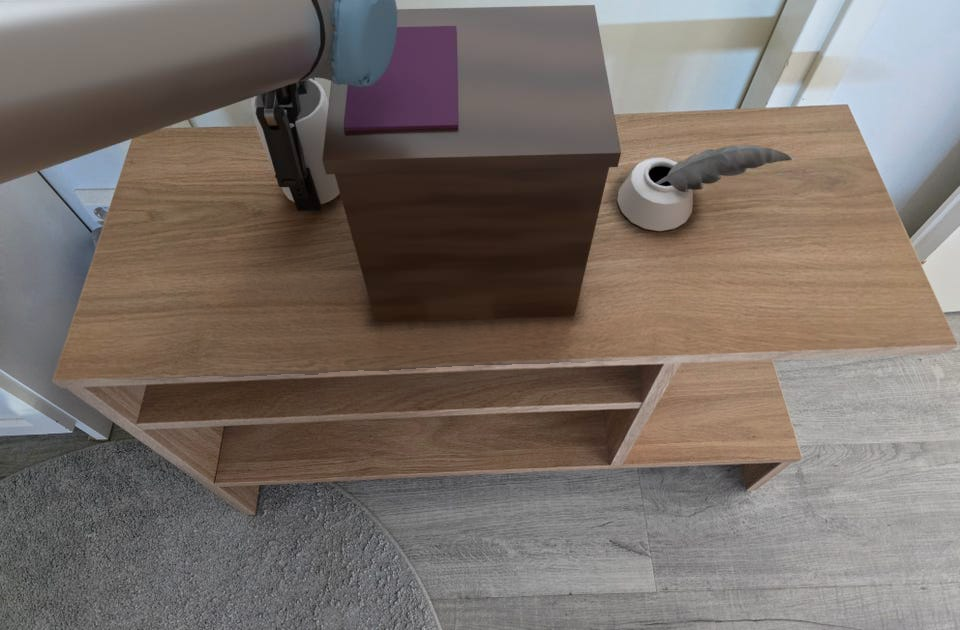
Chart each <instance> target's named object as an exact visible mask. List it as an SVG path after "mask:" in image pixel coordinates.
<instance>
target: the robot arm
mask: <svg viewBox="0 0 960 630" xmlns="http://www.w3.org/2000/svg"><path fill="white" fill-rule="evenodd" d="M397 9H398V6H397V2H396V0H0V185H3V184H6V183H8V182H12V181H14V180H17V179H20V178H23V177H26V176H29V175H32V174H35V173H37V172H40V171H43V170H46V169H49V168H52V167H55V166H57V165H60V164H64V163H67V162H69V161H72V160H75V159H78V158H81V157H83V156H87V155H90V154H92V153H95V152H99V151H101V150H104V149H106V148H107V149H108V148H109V147H112V146H116V145H120V144H121V143H124V142H127V141H130V140H132V139H136V138H139V137H141V136H144V135H147V134H151V133H153V132H156V131H159V130H162V129H164V128H168V127H171V126H174V125H176V124H177V125H178V124H180V123H182V122H185V121H189V120H191V119H194V118H196V117H199V116H202V115H205V114H208V113H212V112H214V111H217V110H220V109H222V108H225V107H228V106H231V105H235V104H237V103H240V102H243V101H246V100H249V99H252V98H253V97H255V96H258V95H262V100H263V105H264V107H257V108H256V116H257V119H258V121H259V123H260V125H261V127H262V129H263V132H264V136H265V139H266V143H267V146H268V150H269V153H270V157H271V160H272V164H273V167H274V171H275V174H276V175H275V174H274V177H275V179H276V181H277V184H278V187H279V188H281V187H289V189H290V191H291V194H292V197H293V199H294V202H295V203H294V202H293V203H294V205H295V207H296V210H297V212H309V211H311V212H312V211H315V212H316V211H317V212H318V211H321V210H322V204H321V203H320V200H319V197H318V194H317V191H316V188H315V185H314V182H313V178H312V175H311V172H310V169H309V168H306V166H305V160H304V154H303V149H302V146H301V142H300V139H299V135H298V132H297V128H296V124H295V122H296V120H298V119H297V117H298V115H299V113H300V112H301V108H300V102H299V96H298V95H302V94H306V93H307V91H306V88H305V85H304V83H305V80H307V79H310V78H311V79H313V80H315V79H324V80H328V81H330V82H331V81H333V83H334V84H338V85H340V84H346V85H352V86H358V87H367V86H371V85H373V84H374V83H376V82H377V81H378V80H379V79H380V78H381V77H382V75H383V74H384V72H385V71H386V69H387V67H388V65H389V62H390V60H391V57H392V54H393V50H394V46H395V41H396V33H397ZM315 81H316V80H315ZM291 103H292V107H279V105H289V104H291ZM291 123H292V124H294V127H292V128H290V124H291ZM274 171H273V172H274Z"/></svg>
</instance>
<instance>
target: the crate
mask: <svg viewBox="0 0 960 630" xmlns="http://www.w3.org/2000/svg"><path fill="white" fill-rule="evenodd" d="M595 6H596V5H595V4H582V5H581V4H575V5H573V4H572V5H570V4H569V5H530V6H529V5H528V6H526V5H525V6H491V7H490V6H486V7H481V6H480V7H445V8H444V7H441V8H440V7H439V8H433V7H432V8H397V27H423V26H456V31H457V85H458V128H454V129H412V130H370V131H344V128H343V127H344V117H345V107H346V97H347V86H348V85H346V84H340V85H338V84H334V83H333V81H330V90H329V91H330V92H329V99H328V102H329V106H328V115H327V123H326V132H325V140H324V149H323V158H322V162H323V165H324V168H325V172H326V174H335V177H336V181H337V185H338V188H339V192H340V194H339V195H340V199H341V202H342V203H341V204H342V206H343V209H344V213H345V217H346V220H347V224H348V228H349V232H350V235H351V239H352V243H353V246H354V249H355V253H356V256H357V261H358V264H359V268H360V271H361V275H362V279H363V282H364V286H365V290H366V292H367V297H368V300H369V304H370V307H371V308H370V309H371V311H372V314H373V318H374V322H376V323H378V322H379V323H381V322H382V323H385V322H418V321H453V320H454V321H455V320H456V321H457V320H489V319H491V320H492V319H526V318H527V319H529V318H559V317H562V318H563V317H564V318H565V317H575V316H576V313H577V307H578V304H579V300H580V299H579V298H580V295H581V292H582V291H581V290H582V286H583V282H584V278H585V273H586V268H587V265H588V260H589V256H590V252H591V247H592V244H593V238H594V236H595V230H596V226H597V222H598V218H599V213H600V209H601V205H602V202H603V201H602V200H603V196H604V192H605V188H606V183H607V179H608V175H609V170H610V168H618V167H619V164H620V160H621V155H622V150H621V144H620V139H619V132H618V128H617V127H618V126H617V122H616V116H615V111H614V106H613V105H614V104H613V100H612V94H611V88H610V83H609V78H608V73H607V67H606V61H605V54H604V49H603V44H602V38H601V34H600V28H599V22H598V15H597V11H596V7H595Z"/></svg>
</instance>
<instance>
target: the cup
mask: <svg viewBox="0 0 960 630" xmlns="http://www.w3.org/2000/svg"><path fill="white" fill-rule="evenodd" d="M304 85H305V88H306V91H307V93H306V94H302V95H298V96H299V102H300V108H301V112H300V113H299V115H298V117H297V119H298V120H296V122H295V124H296V128H297V132H298V135H299V139H300V142H301V146H302V149H303V154H304V160H305V166H306V168H309V169H310V172H311V175H312V178H313V182H314V185H315V188H316V191H317V194H318V197H319V200H320V203H321V205H323V204H326V203H329V202H331V201H332V200H334V199H336V198H337V197H338V196H339V195H340V192H339V188H338V185H337V181H336V177H335V174H326V172H325V168H324V165H323V162H322V158H323V149H324V140H325V132H326V123H327V115H328V106H329V99H328V97H327V94H326V92H325V90H324V88H323V87H322V85H321V84H320V83H319V82H318V81H316V80H313V79H311V78H310V79H307V80H305V83H304ZM257 107H264V105H263V100H262V95H258V96H255V97H252V98H251V103H250V109H251V114H252V116H253V117H252V118H253V120H254V124H255V127H256V130H257V134H258V136H259V139H260V142H261V144H262V147H263V150H264V152H265V155H266V157H267V160H268V162H269V165H270V167H271V170H272V171H273V173H274V176H275V175H276V174H275V171H274V167H273V164H272V160H271V157H270V153H269V150H268V146H267V143H266V139H265V136H264V132H263V129H262V127H261V125H260V123H259V121H258V119H257V116H256V108H257ZM279 107H292V103H291V104H289V105H279ZM292 127H294V124H292V123H291V124H290V128H292ZM280 188H281V190H282V192H283V194H284V195H285V196H286V197H287V199H288V200H289V201H291V202H293V203H294V204H295V202H294V199H293V197H292V194H291V191H290V189H289V187H280Z"/></svg>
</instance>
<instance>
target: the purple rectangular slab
mask: <svg viewBox="0 0 960 630" xmlns="http://www.w3.org/2000/svg"><path fill="white" fill-rule="evenodd" d="M343 128H344V131H370V130H412V129H454V128H458V85H457V31H456V26H423V27H397V33H396V41H395V46H394V50H393V54H392V57H391V60H390V62H389V65H388V67H387V69H386V71H385V72H384V74H383V75H382V77H381V78H380V79H379V80H378V81H377V82H376V83H374V84H373V85H371V86H367V87H358V86H352V85H348V86H347V97H346V107H345V117H344V127H343Z"/></svg>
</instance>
